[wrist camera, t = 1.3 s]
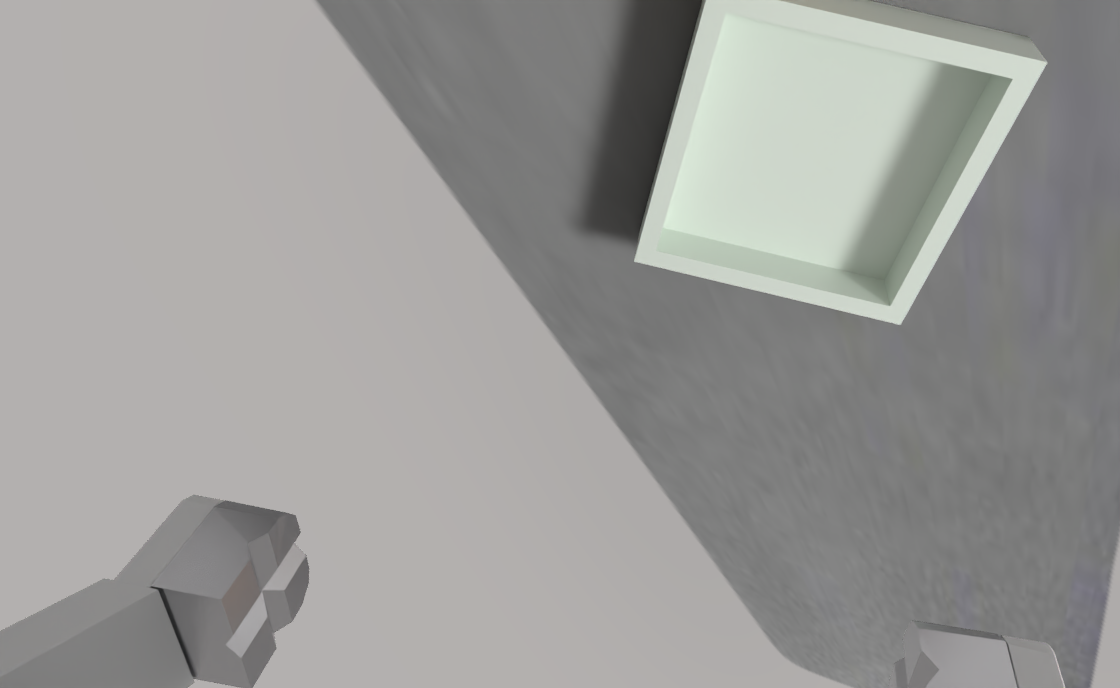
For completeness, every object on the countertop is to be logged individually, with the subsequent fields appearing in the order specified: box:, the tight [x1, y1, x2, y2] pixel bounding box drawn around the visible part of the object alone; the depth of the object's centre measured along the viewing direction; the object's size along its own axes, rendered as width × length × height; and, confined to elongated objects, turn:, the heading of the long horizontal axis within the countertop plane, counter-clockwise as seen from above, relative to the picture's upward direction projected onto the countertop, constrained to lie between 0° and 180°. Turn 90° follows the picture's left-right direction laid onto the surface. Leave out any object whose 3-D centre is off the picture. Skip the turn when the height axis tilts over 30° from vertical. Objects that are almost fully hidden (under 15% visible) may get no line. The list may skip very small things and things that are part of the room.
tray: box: [634, 0, 1047, 325], centre depth 34 cm, size 12×12×2 cm
